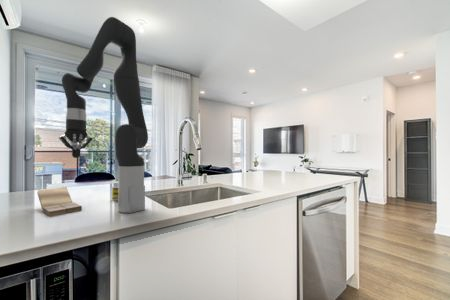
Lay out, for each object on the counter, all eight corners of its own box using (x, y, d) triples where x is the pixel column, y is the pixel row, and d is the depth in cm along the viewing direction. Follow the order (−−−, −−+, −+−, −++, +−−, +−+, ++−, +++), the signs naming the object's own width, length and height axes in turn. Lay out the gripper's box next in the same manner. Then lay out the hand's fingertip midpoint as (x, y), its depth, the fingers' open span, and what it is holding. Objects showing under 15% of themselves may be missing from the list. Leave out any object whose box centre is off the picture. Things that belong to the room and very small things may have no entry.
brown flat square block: (81, 210, 81) (81, 205, 81) (49, 216, 74) (49, 211, 74) (73, 206, 87) (73, 202, 87) (42, 211, 80) (42, 207, 80)
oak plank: (71, 204, 88) (72, 202, 87) (42, 209, 80) (42, 207, 80) (65, 189, 93) (66, 187, 92) (37, 193, 85) (37, 190, 85)
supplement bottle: (112, 201, 96) (112, 182, 96) (112, 199, 100) (112, 181, 100) (123, 199, 98) (123, 182, 98) (123, 197, 102) (123, 180, 102)
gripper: (60, 116, 87) (60, 158, 87) (95, 120, 97) (95, 157, 97) (55, 118, 91) (55, 158, 91) (89, 121, 102) (89, 157, 102)
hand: (76, 157), depth 94 cm, fingers closed
